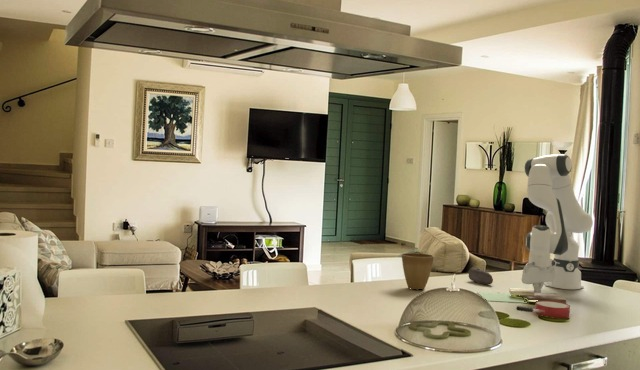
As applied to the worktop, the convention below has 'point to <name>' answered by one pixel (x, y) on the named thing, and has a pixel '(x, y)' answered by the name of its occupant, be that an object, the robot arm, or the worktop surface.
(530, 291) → the birch tile
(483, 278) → the grey stone
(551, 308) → the red saucepan
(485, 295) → the green mat
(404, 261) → the plant pot
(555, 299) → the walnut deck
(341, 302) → the worktop surface
